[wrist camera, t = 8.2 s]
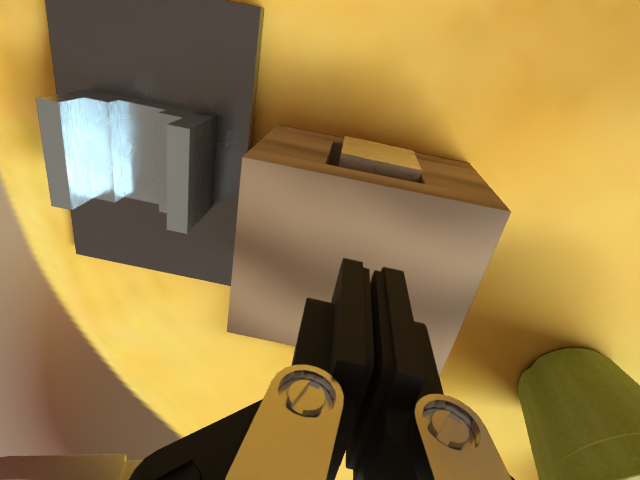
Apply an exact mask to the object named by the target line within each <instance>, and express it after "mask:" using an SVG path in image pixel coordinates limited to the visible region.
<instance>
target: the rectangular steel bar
mask: <svg viewBox="0 0 640 480" xmlns="http://www.w3.org/2000/svg"><path fill="white" fill-rule="evenodd" d="M338 167H342V168H347V169H352V170H357V171H362V172H367V173H372V174H377V175H382V176H387V177H391V178H396V179H401V180H406V181H411V182H416V183H418V181H419V178H420V175H421V172H422V169H421V167H420V165H419V163H418V160H417V158H416V156H415V154H414V151H413V150H409V149H404V148H400V147H395V146H390V145H386V144H381V143H376V142H372V141H367V140H362V139H357V138H353V137H348V136H345V138H344V142H343V147H342V151H341V156H340V161H339V165H338Z"/></svg>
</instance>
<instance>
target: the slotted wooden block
mask: <svg viewBox="0 0 640 480" xmlns="http://www.w3.org/2000/svg"><path fill="white" fill-rule="evenodd" d="M343 142H344V138H341V137H336V136H331V135H327V134H322V133H317V132H312V131H307V130H302V129H297V128H292V127H287V126H282V125H276V126H275V127H274V128H273V129H272V130H271V131H270V132H269V133H268V134H267V135H266V136H264V137H263V138H262V139H261V140H260V141H259V142H258V143H257V144H256V145H255V146H254V147H253V148H252V149H250V150H249V151H248V152H247V153H246V154H245V155H244V156H243V157H242V166H241V177H240V188H239V200H238V211H237V223H236V234H235V245H234V257H233V268H232V280H231V291H230V302H229V314H228V325H227V332H230V333H235V334H240V335H244V336H249V337H254V338H259V339H264V340H268V341H273V342H278V343H283V344H287V345H292V346H296V343H297V338H298V333H299V329H300V324H301V320H302V316H303V311H304V307H305V303H306V299H307V297H308V298H312V299H317V300H321V301H326V302H330V303H331V300H332V296H333V293H334V289H335V285H336V281H337V277H338V274H339V270H340V266H341V263H342V259H343V258H347V259H351V260H356V261H360V262H363V267H364V268H368V269H369V270H370V281H371V278H372V275H373V272H374V271H375V270H377V271H381V269H382V268H383V267H387V268H392V269H396V270H401V271H404V275H405V280H406V285H407V289H408V294H409V299H410V304H411V309H412V313H413V318H414V321H416V322H420V323H424V324H425V325H426V327H427V330H428V334H429V338H430V342H431V346H432V350H433V354H434V358H435V362H436V366H437V370H438V374H439V376H440V375H441V372H442V370H443V368H444V365H445V363H446V361H447V359H448V356H449V354H450V352H451V349H452V347H453V345H454V342H455V340H456V338H457V335H458V333H459V331H460V329H461V326H462V324H463V322H464V319H465V317H466V315H467V312H468V310H469V308H470V305H471V303H472V301H473V298H474V296H475V294H476V292H477V289H478V287H479V285H480V282H481V280H482V278H483V275H484V273H485V271H486V268H487V266H488V264H489V262H490V259H491V257H492V255H493V252H494V250H495V248H496V245H497V243H498V241H499V238H500V236H501V234H502V232H503V229H504V227H505V225H506V222H507V220H508V218H509V215H510V213H511V211H510V210H509V209H508V208H507V206H506V205H505V204H504V203H503V202H502V201H501V200H500V198H499V197H498V196H497V195H496V194H495V193H494V191H493V190H492V189H491V188H490V187H489V186H488V184H487V183H486V182H485V181H484V180H483V179H482V177H481V176H480V175H479V174H478V173H477V172H476V170H475V169H474V168H473V167H472V166H471V165H470V163H465V162H460V161H455V160H450V159H445V158H440V157H435V156H430V155H425V154H421V153H416V152H414V154H415V156H416V158H417V160H418V163H419V165H420V167H421V169H422V172H421V175H420V178H419V181H418V183H416V182H411V181H406V180H401V179H396V178H391V177H387V176H382V175H377V174H372V173H367V172H362V171H357V170H352V169H347V168H342V167H338V165H339V161H340V156H341V151H342V147H343Z"/></svg>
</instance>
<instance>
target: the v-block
mask: <svg viewBox="0 0 640 480" xmlns="http://www.w3.org/2000/svg"><path fill="white" fill-rule="evenodd" d="M45 3H46V11H47V20H48V28H49V36H50V44H51V52H52V60H53V69H54V77H55V85H56V93H57V94H55V95H49V96H43V97H37V98H36V103H37V110H38V117H39V123H40V130H41V137H42V144H43V151H44V158H45V164H46V171H47V178H48V185H49V192H50V199H51V206H54V207H59V208H64V209H69V210H71V216H72V224H73V232H74V240H75V248H76V254H79V255H84V256H89V257H94V258H99V259H103V260H108V261H113V262H118V263H123V264H128V265H132V266H137V267H142V268H147V269H152V270H156V271H161V272H166V273H171V274H176V275H180V276H185V277H190V278H195V279H200V280H205V281H209V282H214V283H219V284H224V285H229V286H231V280H232V268H233V257H234V245H235V234H236V223H237V211H238V200H239V188H240V177H241V166H242V157H243V156H244V155H245V154H246V153H247V152H248V151H249V150H250V149H251V141H252V131H253V120H254V110H255V100H256V89H257V79H258V69H259V58H260V48H261V38H262V27H263V17H264V9H263V8H260V7H255V6H250V5H245V4H240V3H235V2H230V1H225V0H45Z"/></svg>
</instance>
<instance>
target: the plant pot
mask: <svg viewBox="0 0 640 480" xmlns="http://www.w3.org/2000/svg"><path fill="white" fill-rule="evenodd" d="M518 394H519V399H520V403H521V407H522V411H523V415H524V419H525V423H526V427H527V432H528V436H529V440H530V444H531V449H532V453H533V457H534V461H535V465H536V469H537V473H538V477H539V480H640V385H639V384H637V383H636V382H635V381H634V380H633V379H632V378H631V377H630V376H629V375H627V374H626V373H625V372H624V371H623V370H622V369H621V368H620V367H619V366H617V365H616V364H615V363H614V362H613V361H612V360H610V359H609V358H607V357H606V356H604V355H602V354H600V353H598V352H596V351H593V350H590V349H584V348H567V349H561V350H557V351H553V352H550V353H548V354H545V355H543V356H541V357H539V358H538V359H537V360H536V362H535V363H534V364H533V365H532V366H531V367H530V368H529V369H527V370H525V371H524V372H523V373H522V375H521V377H520V380H519V383H518Z"/></svg>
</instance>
